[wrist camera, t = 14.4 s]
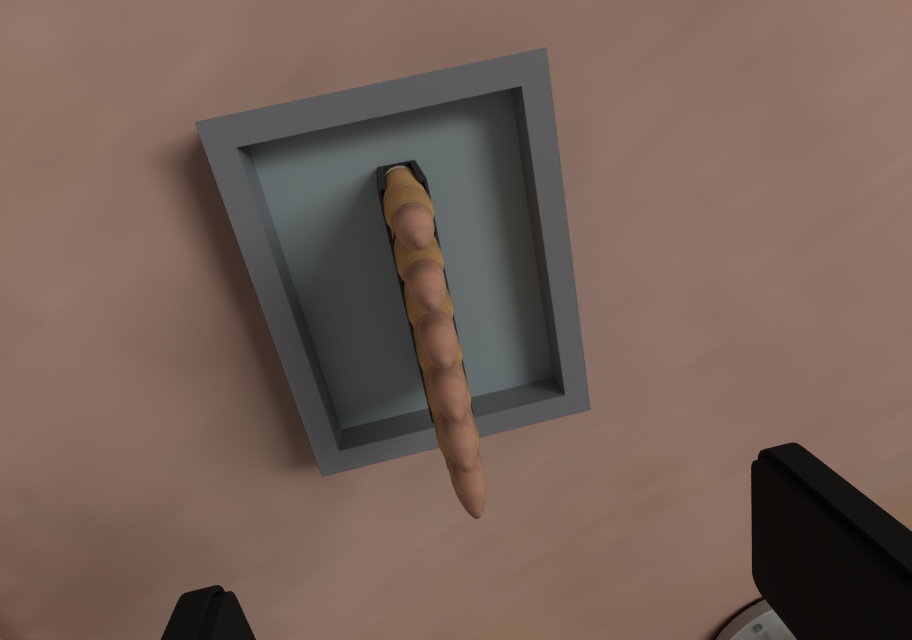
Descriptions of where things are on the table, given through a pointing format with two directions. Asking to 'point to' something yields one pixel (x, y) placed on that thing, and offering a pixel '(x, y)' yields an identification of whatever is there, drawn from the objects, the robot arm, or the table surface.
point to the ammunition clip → (432, 324)
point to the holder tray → (371, 261)
